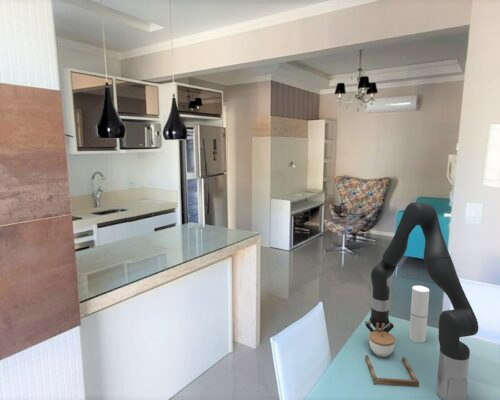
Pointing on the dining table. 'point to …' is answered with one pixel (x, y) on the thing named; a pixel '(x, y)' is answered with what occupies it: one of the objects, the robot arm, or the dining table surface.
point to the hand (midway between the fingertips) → (378, 341)
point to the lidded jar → (381, 343)
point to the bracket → (396, 382)
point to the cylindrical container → (419, 313)
